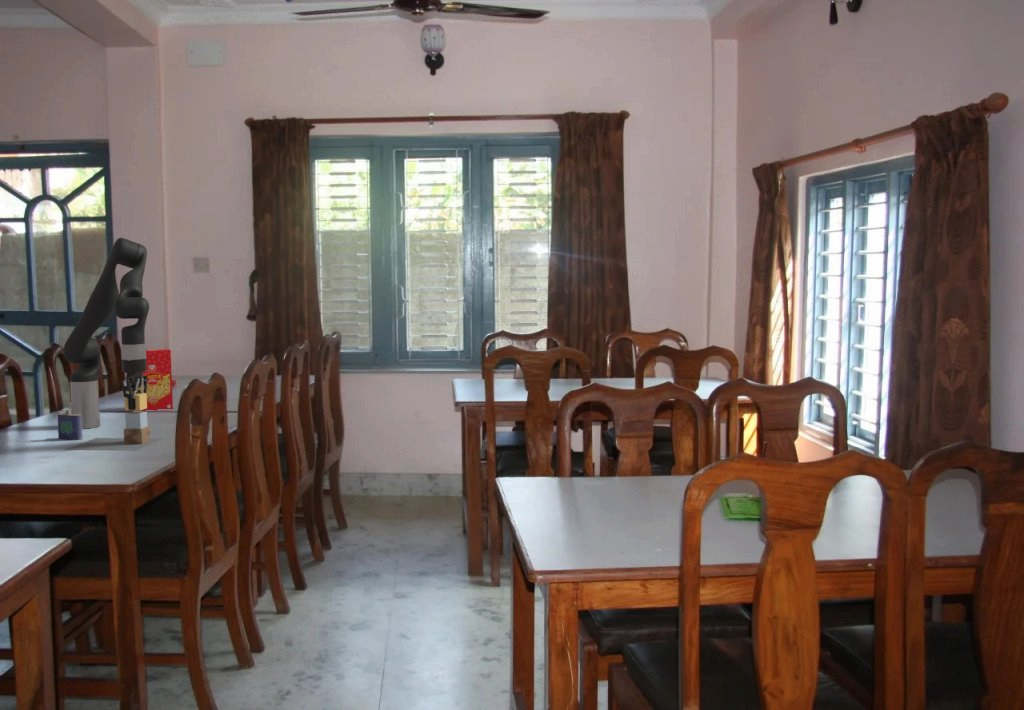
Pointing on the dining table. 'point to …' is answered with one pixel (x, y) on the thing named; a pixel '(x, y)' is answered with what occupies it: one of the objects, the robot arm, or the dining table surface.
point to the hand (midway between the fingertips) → (136, 408)
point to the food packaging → (158, 380)
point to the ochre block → (138, 401)
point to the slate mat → (111, 444)
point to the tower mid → (136, 420)
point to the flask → (69, 426)
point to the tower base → (137, 435)
